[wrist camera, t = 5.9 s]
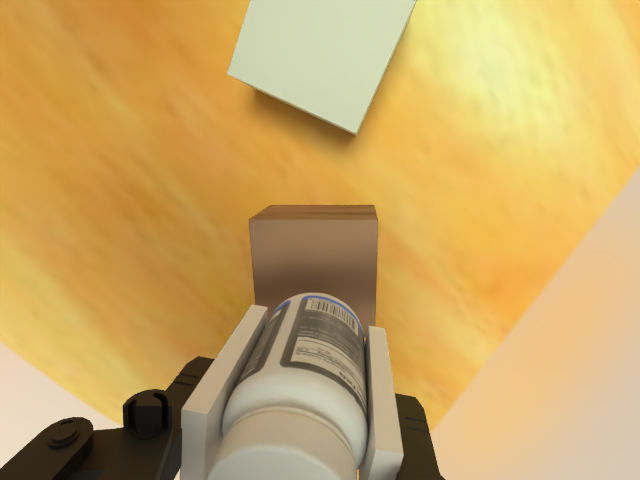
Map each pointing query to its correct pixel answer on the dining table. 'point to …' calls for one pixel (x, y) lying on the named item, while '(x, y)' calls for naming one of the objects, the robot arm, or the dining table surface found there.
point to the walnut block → (316, 255)
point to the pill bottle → (299, 398)
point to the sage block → (320, 53)
